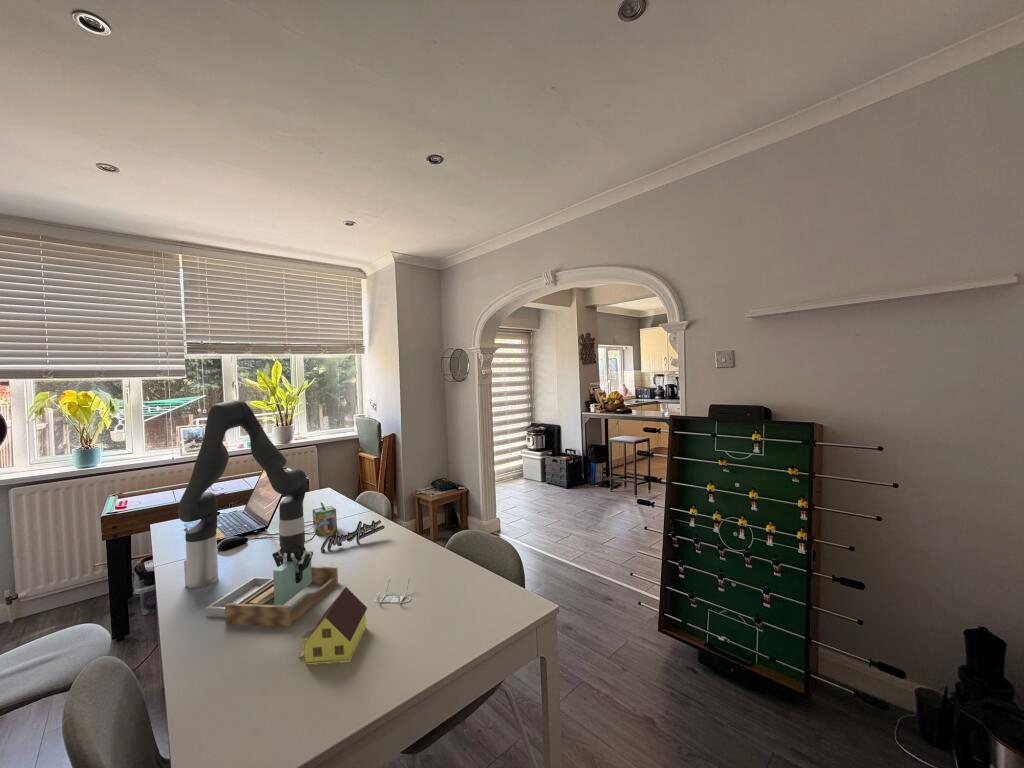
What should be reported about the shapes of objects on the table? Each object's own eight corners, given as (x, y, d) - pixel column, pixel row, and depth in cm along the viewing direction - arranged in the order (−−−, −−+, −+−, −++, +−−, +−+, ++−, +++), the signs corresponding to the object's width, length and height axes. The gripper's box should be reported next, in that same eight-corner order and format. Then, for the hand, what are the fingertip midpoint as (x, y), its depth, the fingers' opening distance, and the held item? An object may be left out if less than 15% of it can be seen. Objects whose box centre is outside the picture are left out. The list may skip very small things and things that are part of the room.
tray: (206, 617, 133) (205, 607, 133) (254, 585, 154) (254, 577, 153) (230, 618, 132) (230, 608, 132) (276, 586, 152) (275, 577, 152)
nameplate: (324, 560, 181) (317, 539, 179) (323, 559, 182) (317, 538, 181) (386, 532, 195) (380, 512, 193) (385, 531, 196) (379, 511, 195)
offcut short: (249, 608, 134) (248, 602, 134) (274, 591, 145) (274, 585, 145) (255, 608, 134) (255, 603, 134) (281, 591, 145) (280, 586, 145)
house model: (284, 675, 106) (282, 625, 106) (316, 628, 126) (314, 586, 126) (358, 669, 107) (356, 619, 107) (377, 623, 127) (376, 582, 127)
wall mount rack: (370, 607, 136) (370, 593, 136) (382, 590, 147) (382, 577, 147) (407, 607, 136) (407, 593, 135) (417, 590, 146) (416, 577, 146)
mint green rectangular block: (274, 604, 133) (273, 570, 133) (303, 581, 148) (302, 550, 148) (283, 605, 133) (281, 570, 133) (311, 582, 148) (310, 551, 147)
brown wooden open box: (225, 624, 129) (224, 605, 129) (284, 581, 155) (284, 565, 155) (288, 627, 126) (288, 607, 126) (338, 583, 153) (337, 567, 152)
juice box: (337, 532, 205) (336, 502, 205) (317, 537, 200) (316, 506, 200) (332, 527, 213) (331, 498, 213) (313, 532, 207) (311, 502, 207)
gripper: (264, 534, 137) (266, 586, 138) (304, 535, 135) (306, 588, 136) (280, 526, 145) (282, 575, 145) (318, 527, 143) (319, 577, 143)
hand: (293, 581), depth 140 cm, fingers closed on mint green rectangular block, 3 cm apart
